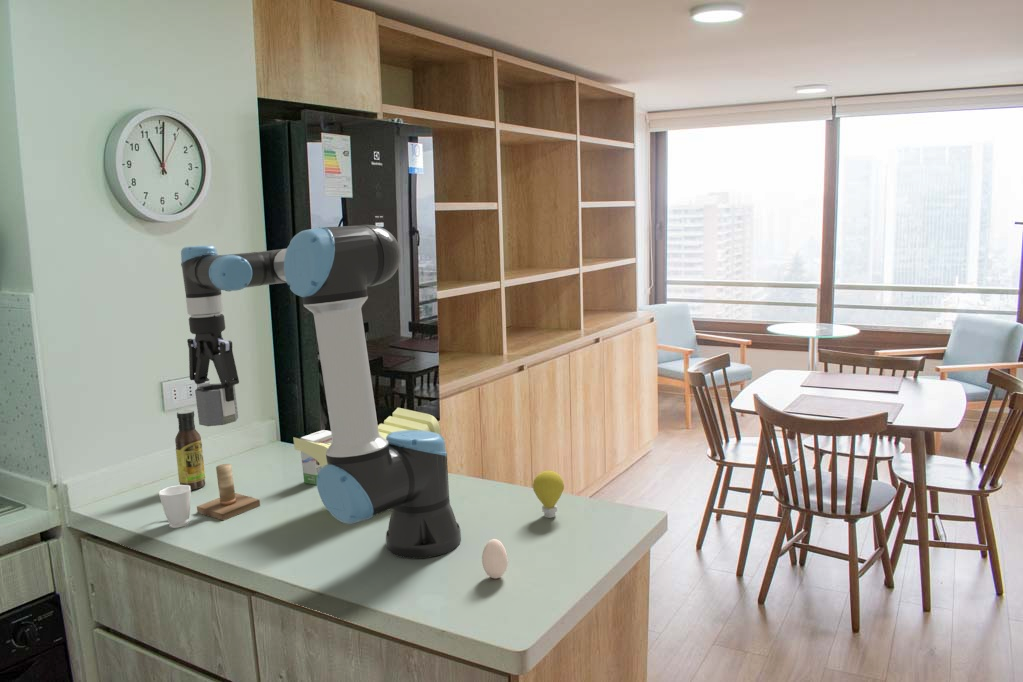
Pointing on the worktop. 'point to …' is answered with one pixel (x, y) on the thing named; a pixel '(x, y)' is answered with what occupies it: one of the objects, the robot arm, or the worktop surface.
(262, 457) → the worktop surface
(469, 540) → the worktop surface
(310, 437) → the ink box
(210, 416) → the grey hollow octagonal piece
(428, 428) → the slatted curved stool
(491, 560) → the egg
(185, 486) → the cup
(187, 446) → the sauce bottle
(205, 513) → the post
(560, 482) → the light bulb
